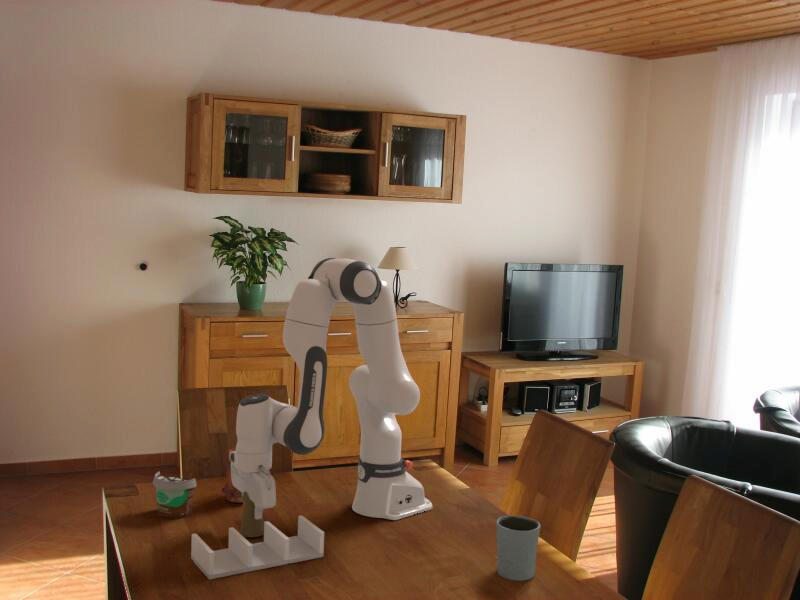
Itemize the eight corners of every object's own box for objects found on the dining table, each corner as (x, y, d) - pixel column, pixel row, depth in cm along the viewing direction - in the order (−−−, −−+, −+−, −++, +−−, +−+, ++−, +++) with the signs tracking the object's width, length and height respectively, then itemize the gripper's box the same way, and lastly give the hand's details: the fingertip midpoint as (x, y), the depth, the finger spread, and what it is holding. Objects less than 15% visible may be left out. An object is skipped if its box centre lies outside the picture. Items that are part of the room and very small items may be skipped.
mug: (245, 507, 236) (247, 453, 234) (217, 504, 238) (218, 450, 236) (264, 490, 250) (266, 439, 249) (237, 487, 252) (239, 436, 250)
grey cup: (507, 584, 196) (510, 533, 195) (485, 566, 206) (488, 517, 204) (545, 578, 200) (549, 528, 199) (522, 561, 210) (525, 512, 208)
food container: (142, 514, 228) (142, 477, 226) (157, 507, 233) (157, 471, 232) (181, 523, 223) (182, 485, 222) (196, 515, 229) (196, 478, 228)
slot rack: (301, 538, 217) (302, 515, 216) (323, 556, 207) (324, 532, 206) (191, 559, 202) (191, 534, 201) (209, 579, 192) (209, 553, 191)
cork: (269, 530, 220) (270, 488, 218) (255, 539, 214) (256, 495, 213) (249, 526, 222) (250, 484, 221) (235, 534, 217) (235, 491, 215)
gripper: (283, 470, 209) (281, 526, 211) (249, 448, 226) (249, 499, 228) (258, 474, 205) (257, 530, 207) (226, 451, 223) (225, 503, 224)
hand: (252, 514), depth 218 cm, fingers closed on cork, 4 cm apart
